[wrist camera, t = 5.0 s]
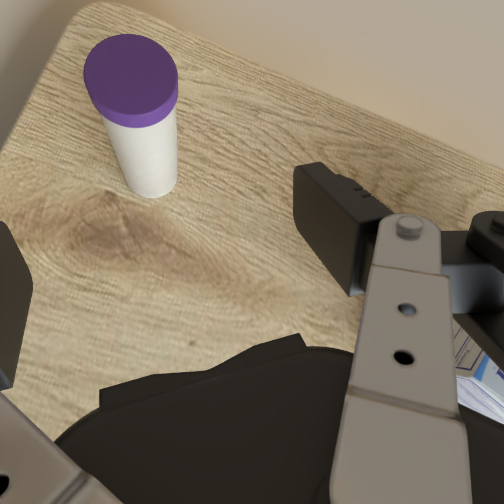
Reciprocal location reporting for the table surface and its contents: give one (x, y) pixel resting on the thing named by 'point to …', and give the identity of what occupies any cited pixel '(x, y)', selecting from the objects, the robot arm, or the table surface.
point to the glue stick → (137, 109)
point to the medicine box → (477, 377)
